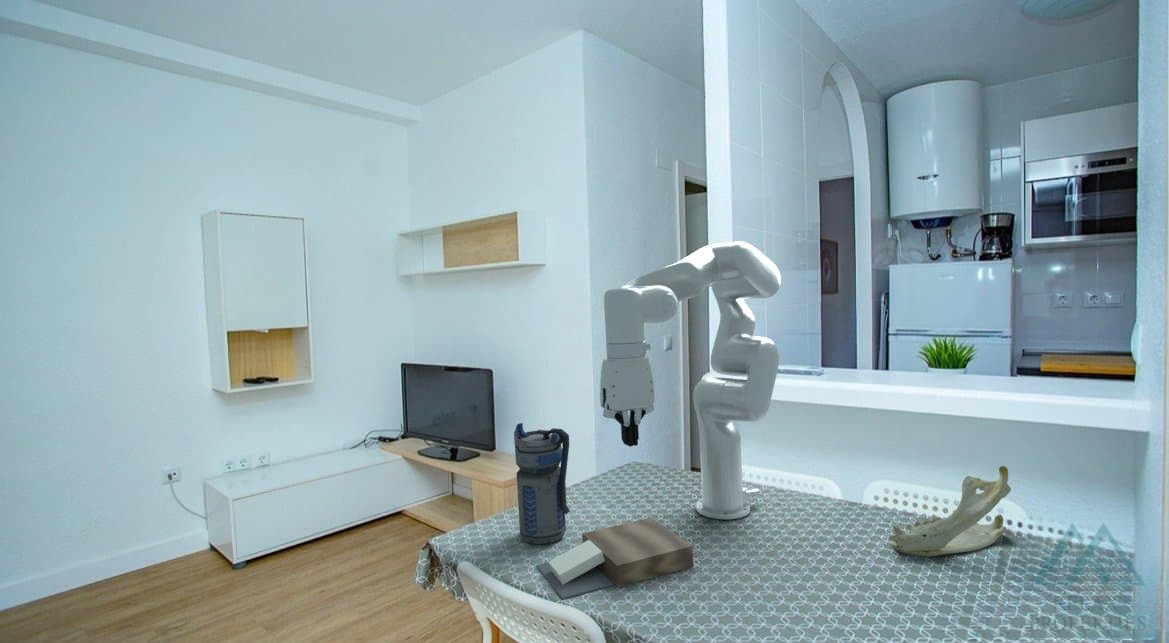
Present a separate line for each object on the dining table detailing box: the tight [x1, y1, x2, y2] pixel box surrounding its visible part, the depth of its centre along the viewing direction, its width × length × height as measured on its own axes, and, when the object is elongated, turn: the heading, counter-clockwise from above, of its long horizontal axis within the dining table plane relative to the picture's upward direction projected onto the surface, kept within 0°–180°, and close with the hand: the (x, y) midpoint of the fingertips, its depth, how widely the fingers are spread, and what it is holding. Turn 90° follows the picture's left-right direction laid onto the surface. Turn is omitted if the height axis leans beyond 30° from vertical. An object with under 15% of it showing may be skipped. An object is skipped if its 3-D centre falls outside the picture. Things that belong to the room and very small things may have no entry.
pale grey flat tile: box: [548, 540, 605, 584], centre depth 109 cm, size 9×6×2 cm, turn 113°
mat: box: [536, 561, 615, 601], centre depth 109 cm, size 10×14×1 cm
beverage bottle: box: [513, 422, 571, 545], centre depth 126 cm, size 10×13×25 cm
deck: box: [581, 517, 694, 588], centre depth 114 cm, size 16×16×4 cm
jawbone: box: [888, 465, 1012, 558], centre depth 112 cm, size 25×18×10 cm
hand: (630, 444), depth 113 cm, fingers closed
